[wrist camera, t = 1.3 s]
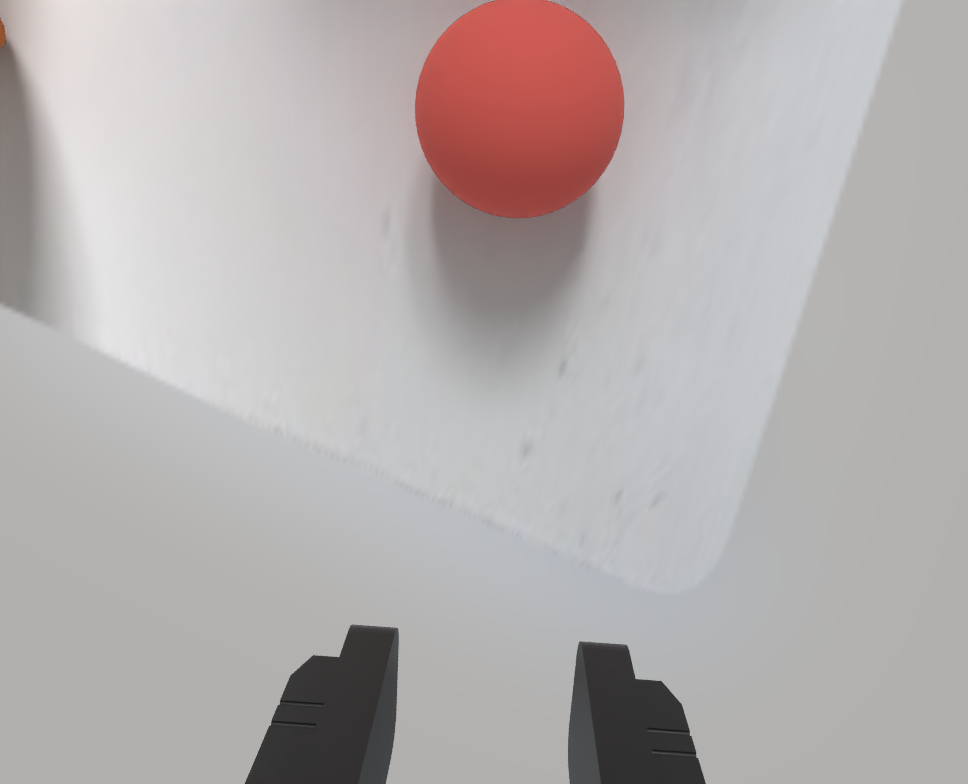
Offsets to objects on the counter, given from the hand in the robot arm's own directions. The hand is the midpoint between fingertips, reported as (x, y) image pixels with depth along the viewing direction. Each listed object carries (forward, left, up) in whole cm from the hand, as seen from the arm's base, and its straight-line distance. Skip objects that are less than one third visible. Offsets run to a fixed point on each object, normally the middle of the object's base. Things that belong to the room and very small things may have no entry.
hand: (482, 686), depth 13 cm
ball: (-9, 0, -14) cm, 17 cm away
